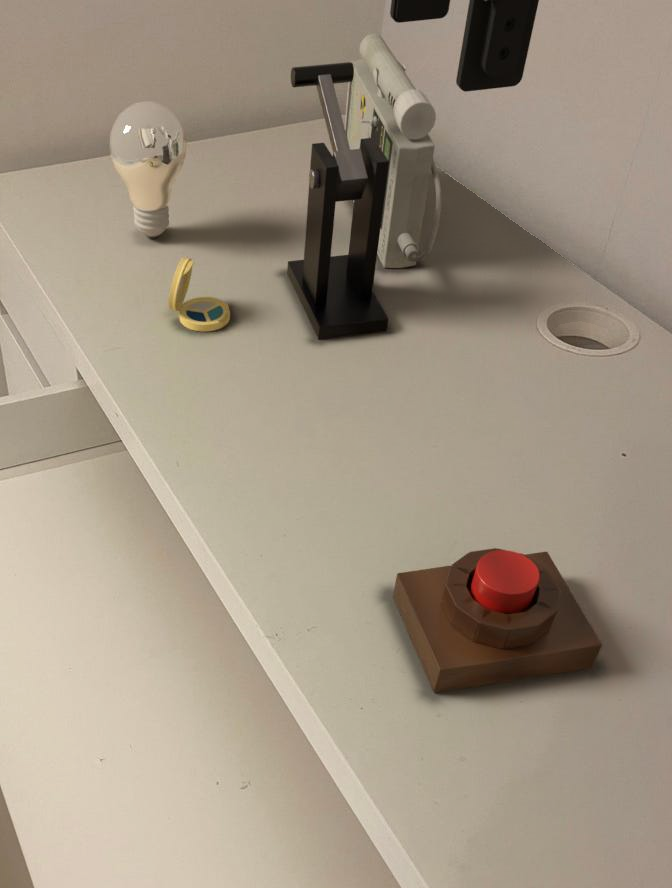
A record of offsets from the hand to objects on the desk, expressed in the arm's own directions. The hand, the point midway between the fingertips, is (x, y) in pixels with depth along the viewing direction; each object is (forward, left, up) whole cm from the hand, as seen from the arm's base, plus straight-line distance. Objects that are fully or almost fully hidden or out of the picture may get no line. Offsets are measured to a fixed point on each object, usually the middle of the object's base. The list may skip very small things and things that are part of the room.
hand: (451, 50), depth 51 cm
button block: (-1, +17, -27) cm, 32 cm away
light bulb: (+12, -37, -28) cm, 48 cm away
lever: (-2, -27, -15) cm, 31 cm away
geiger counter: (-11, -33, -28) cm, 45 cm away
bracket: (-2, -22, -27) cm, 35 cm away
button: (-1, +17, -24) cm, 29 cm away
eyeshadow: (+10, -22, -28) cm, 36 cm away
